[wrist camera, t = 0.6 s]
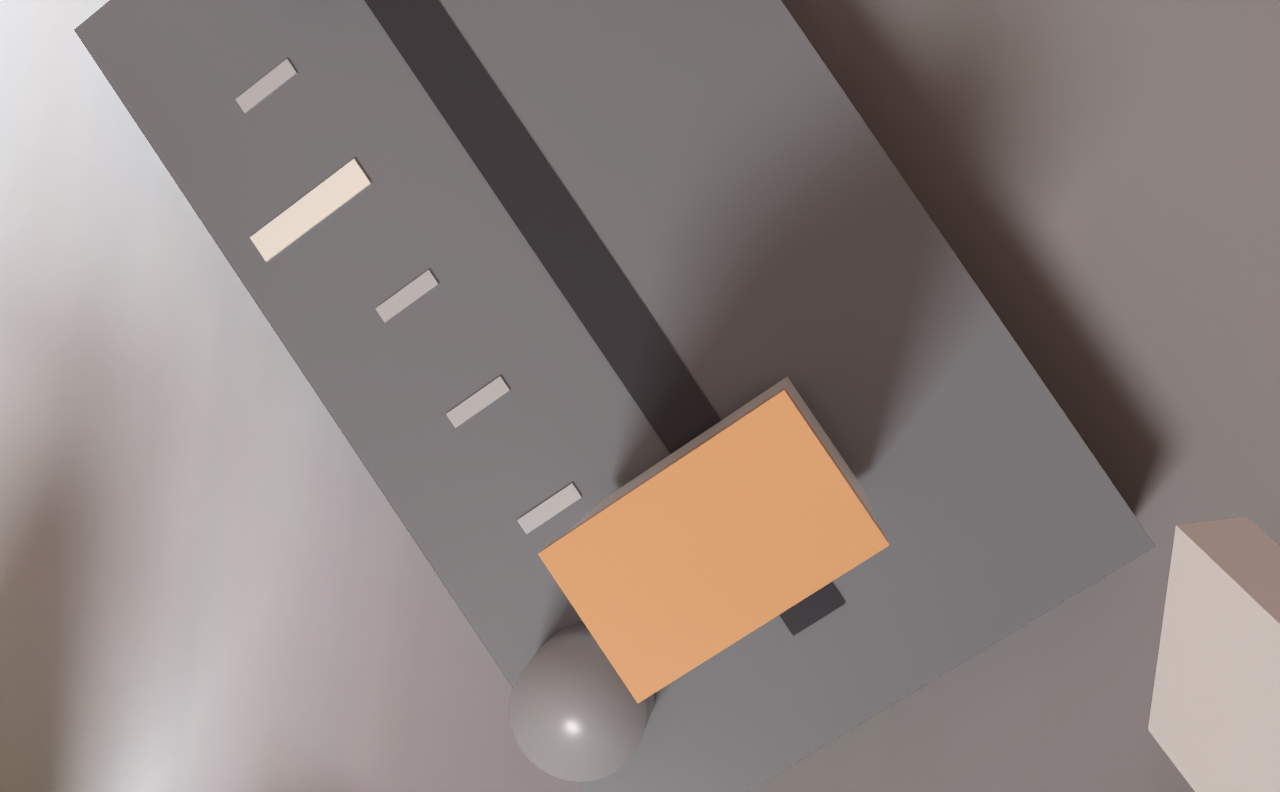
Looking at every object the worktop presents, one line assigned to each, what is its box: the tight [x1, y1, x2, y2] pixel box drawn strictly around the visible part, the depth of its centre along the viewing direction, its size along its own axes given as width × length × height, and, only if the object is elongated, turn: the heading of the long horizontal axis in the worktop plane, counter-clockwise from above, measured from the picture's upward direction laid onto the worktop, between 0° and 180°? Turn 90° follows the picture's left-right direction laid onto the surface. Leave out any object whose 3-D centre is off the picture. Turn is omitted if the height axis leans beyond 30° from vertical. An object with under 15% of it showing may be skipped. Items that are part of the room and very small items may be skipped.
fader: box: [538, 377, 889, 703], centre depth 22 cm, size 3×5×6 cm, turn 125°
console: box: [75, 0, 1155, 792], centre depth 25 cm, size 24×14×4 cm, turn 35°
